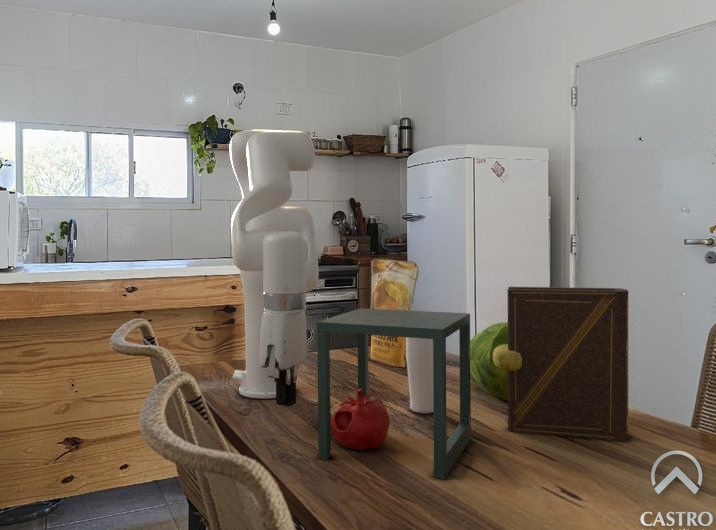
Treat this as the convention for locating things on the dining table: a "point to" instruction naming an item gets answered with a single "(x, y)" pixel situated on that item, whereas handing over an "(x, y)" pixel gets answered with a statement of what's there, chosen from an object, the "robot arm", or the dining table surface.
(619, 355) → the book
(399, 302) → the pancake mix bag
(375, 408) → the pomegranate
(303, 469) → the dining table surface
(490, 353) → the lettuce
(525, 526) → the dining table surface
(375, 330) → the bench
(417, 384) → the white paper cup
